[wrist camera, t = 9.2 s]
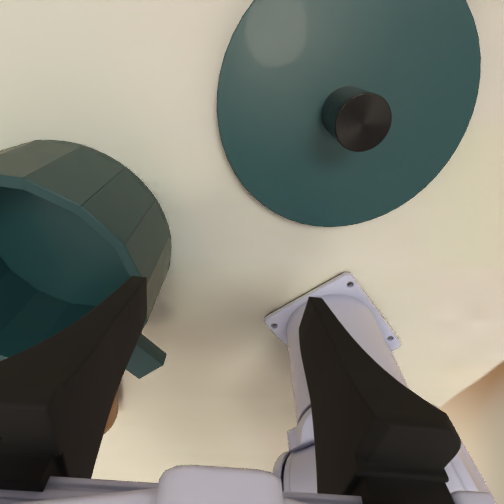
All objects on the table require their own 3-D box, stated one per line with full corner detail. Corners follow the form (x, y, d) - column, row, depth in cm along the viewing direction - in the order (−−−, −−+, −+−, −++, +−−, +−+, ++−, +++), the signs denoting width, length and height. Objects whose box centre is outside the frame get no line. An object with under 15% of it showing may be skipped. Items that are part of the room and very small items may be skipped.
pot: (15, 47, 18) (-95, 44, 12) (232, 275, 25) (225, 337, 20) (-100, 188, 22) (-220, 234, 16) (116, 348, 29) (84, 417, 24)
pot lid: (404, -141, 14) (464, -220, 10) (502, 134, 20) (565, 154, 16) (166, 82, 19) (142, 90, 15) (303, 255, 24) (312, 294, 20)
